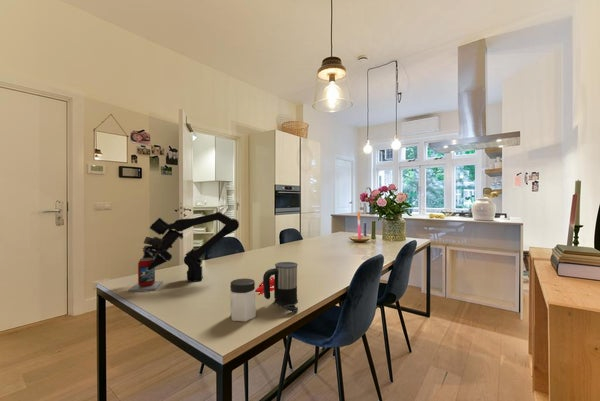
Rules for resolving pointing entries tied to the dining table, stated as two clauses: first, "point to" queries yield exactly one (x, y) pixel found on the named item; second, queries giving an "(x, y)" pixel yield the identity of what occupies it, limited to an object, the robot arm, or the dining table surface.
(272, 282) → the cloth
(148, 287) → the trivet
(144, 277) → the beverage can
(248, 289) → the jar
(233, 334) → the dining table surface
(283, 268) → the milk frother
